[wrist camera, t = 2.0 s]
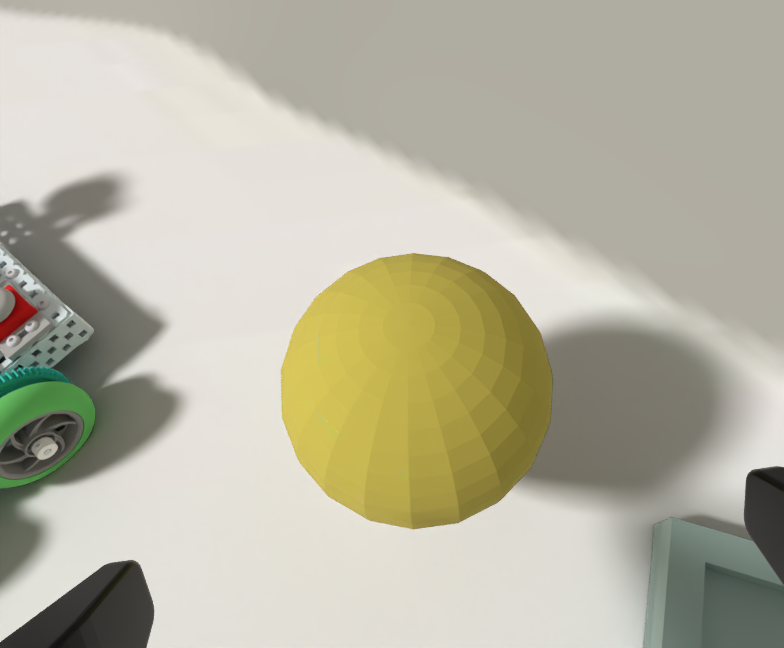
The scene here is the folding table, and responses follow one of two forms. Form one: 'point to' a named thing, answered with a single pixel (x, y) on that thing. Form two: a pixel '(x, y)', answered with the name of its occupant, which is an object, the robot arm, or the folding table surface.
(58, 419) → the robot kit
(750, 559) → the tray
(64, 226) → the folding table surface
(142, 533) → the folding table surface
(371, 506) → the light bulb
